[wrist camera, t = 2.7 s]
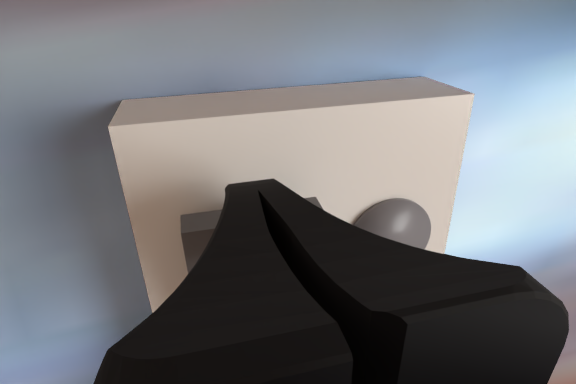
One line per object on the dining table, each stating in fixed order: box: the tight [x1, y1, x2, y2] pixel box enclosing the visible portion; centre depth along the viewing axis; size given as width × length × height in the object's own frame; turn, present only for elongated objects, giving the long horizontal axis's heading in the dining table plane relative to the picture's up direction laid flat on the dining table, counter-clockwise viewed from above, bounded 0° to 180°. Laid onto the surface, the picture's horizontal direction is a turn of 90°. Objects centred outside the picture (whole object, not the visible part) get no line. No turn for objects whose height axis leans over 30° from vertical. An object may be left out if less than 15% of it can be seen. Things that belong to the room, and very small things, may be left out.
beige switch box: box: [108, 77, 474, 313], centre depth 17 cm, size 18×11×3 cm, turn 1°
